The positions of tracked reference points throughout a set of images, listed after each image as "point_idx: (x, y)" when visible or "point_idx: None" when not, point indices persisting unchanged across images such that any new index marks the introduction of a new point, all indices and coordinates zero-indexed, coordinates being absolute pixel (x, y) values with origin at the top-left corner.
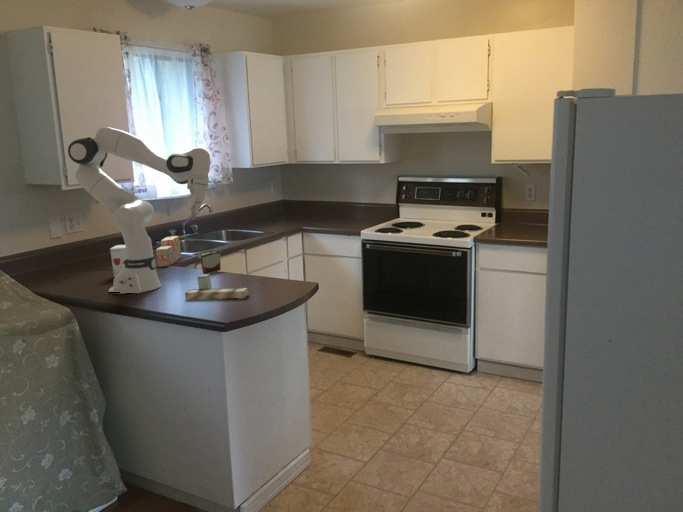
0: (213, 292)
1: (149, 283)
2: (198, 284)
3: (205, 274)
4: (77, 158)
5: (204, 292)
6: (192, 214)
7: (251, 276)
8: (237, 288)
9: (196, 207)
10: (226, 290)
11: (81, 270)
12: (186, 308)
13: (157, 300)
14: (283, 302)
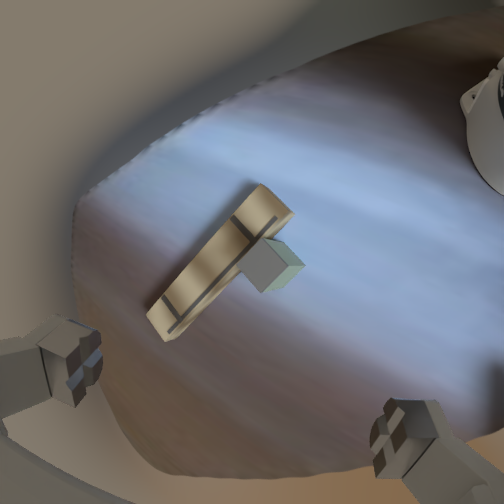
0: (198, 253)
1: (479, 137)
2: (271, 240)
3: (268, 277)
4: None
5: (216, 232)
6: (401, 439)
7: (349, 465)
8: (176, 321)
9: (1, 355)
10: (182, 289)
11: None
12: (192, 164)
13: (334, 122)
14: None
